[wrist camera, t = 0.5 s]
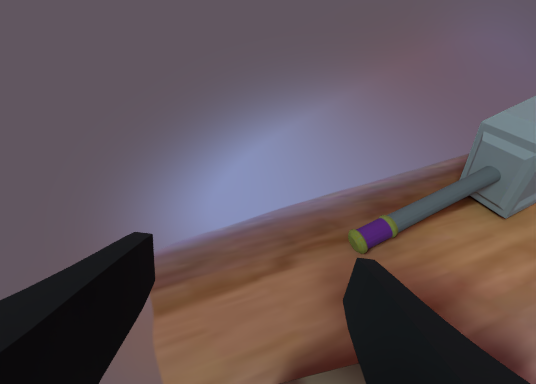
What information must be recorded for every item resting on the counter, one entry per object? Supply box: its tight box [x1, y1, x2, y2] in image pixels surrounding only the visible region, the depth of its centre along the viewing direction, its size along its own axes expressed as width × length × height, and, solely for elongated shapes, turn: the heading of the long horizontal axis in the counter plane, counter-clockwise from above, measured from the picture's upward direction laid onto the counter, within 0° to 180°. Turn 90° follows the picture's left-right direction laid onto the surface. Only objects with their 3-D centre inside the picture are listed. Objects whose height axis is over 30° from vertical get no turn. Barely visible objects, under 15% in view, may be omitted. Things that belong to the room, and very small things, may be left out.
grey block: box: [348, 96, 536, 254], centre depth 34 cm, size 15×8×30 cm
